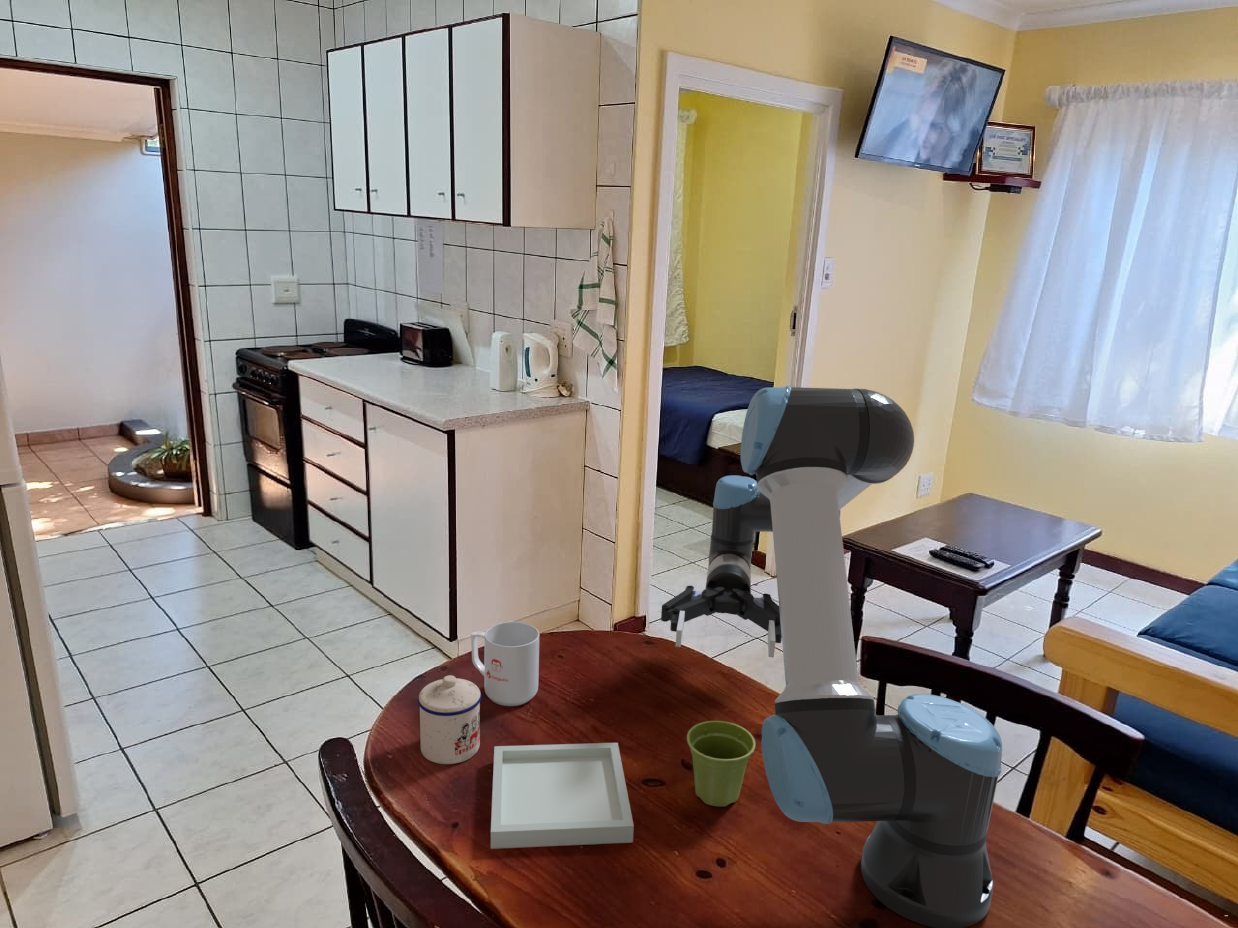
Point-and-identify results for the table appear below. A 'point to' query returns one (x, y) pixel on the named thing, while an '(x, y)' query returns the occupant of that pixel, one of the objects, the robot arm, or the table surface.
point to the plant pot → (719, 760)
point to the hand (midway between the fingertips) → (724, 643)
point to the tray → (559, 796)
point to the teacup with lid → (449, 720)
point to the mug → (509, 662)
